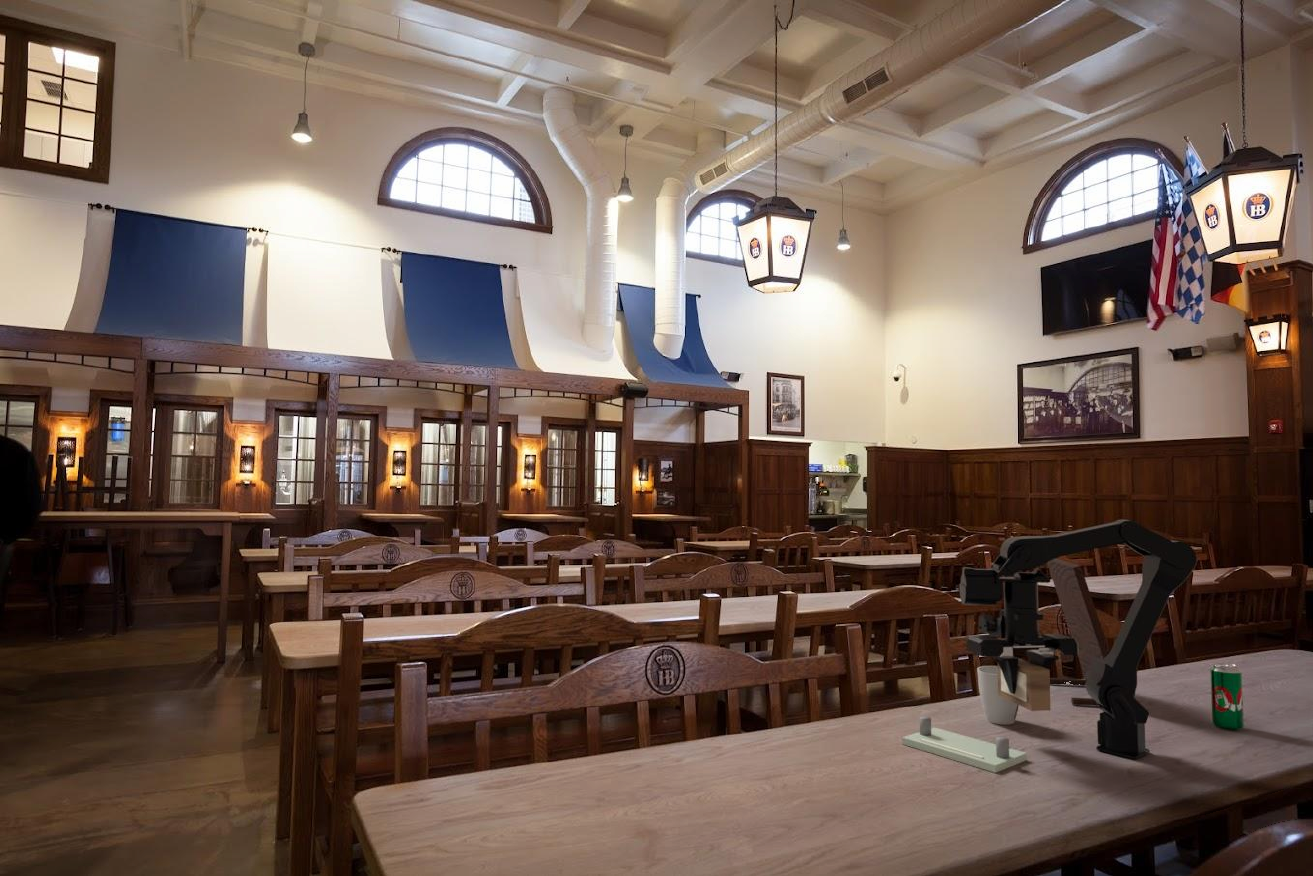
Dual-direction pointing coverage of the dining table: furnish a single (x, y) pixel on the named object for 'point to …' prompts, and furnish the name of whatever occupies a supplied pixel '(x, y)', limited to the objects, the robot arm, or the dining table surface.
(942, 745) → the ledge board
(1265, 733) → the dining table surface
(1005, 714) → the cup
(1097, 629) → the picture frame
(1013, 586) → the robot arm
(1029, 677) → the brown wooden block
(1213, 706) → the soda can
